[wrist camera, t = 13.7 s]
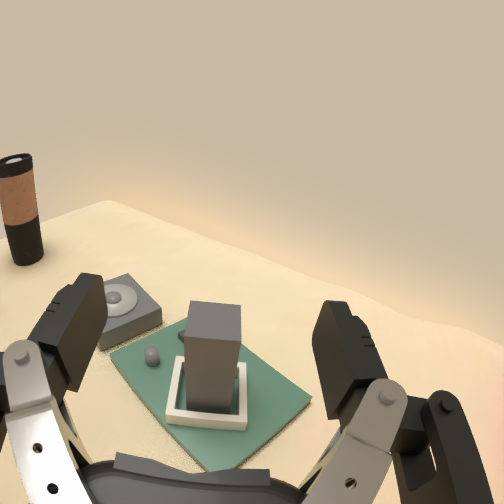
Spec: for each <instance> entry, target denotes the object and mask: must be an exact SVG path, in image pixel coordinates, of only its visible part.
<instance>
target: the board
mask: <svg viewBox="0 0 504 504" xmlns="http://www.w3.org/2000/svg"><path fill="white" fill-rule="evenodd" d="M186 322H187V318H185V319H183V320H181V321H179V322H177V323H175V324H173V325H170V326H168V327H166V328H164V329H162V330H160V331H158V332H156V333H154V334H151V335H149V336H147V337H145V338H143V339H141V340H139V341H136V342H134V343H132V344H130V345H128V346H126V347H124V348H121V349H119V350H117V351H115V352H113V353H110V358H111V361H112V362H113V363H114V365H115V366H116V368H117V369H118V370H119V372H120V373H121V375H122V376H123V377H124V379H125V380H126V381H127V383H128V384H129V385H130V387H131V388H132V389H133V391H134V392H135V393H136V394H137V396H138V397H139V398H140V399H141V401H142V402H143V403H144V404H145V406H146V407H147V408H148V409H149V411H150V412H151V413H152V414H153V415H154V417H155V418H156V419H157V420H158V421H159V422H160V424H161V425H162V426H163V427H164V428H165V429H166V430H167V432H168V433H169V434H170V435H171V436H172V437H173V438H174V439H175V440H176V441H177V443H178V444H179V445H180V446H181V447H182V448H183V449H184V450H185V451H186V452H187V453H188V454H189V455H190V456H191V457H192V458H193V459H194V460H195V461H196V462H197V463H198V464H199V465H200V466H201V467H202V468H203V469H204V470H205V471H206V472H211V471H218V470H225V469H231V468H234V469H235V468H236V467H237V466H239V465H240V464H241V463H242V462H244V461H245V460H246V459H247V458H249V457H250V456H251V455H252V454H253V453H255V452H256V451H257V450H258V449H259V448H261V447H262V446H263V445H264V444H265V443H266V442H268V441H269V440H270V439H271V438H272V437H273V436H274V435H275V434H277V433H278V432H279V431H280V430H281V429H282V428H283V427H284V426H285V425H286V424H288V423H289V422H290V421H291V420H292V419H293V418H294V417H295V416H296V415H297V414H298V413H299V412H300V411H301V410H302V409H303V408H304V407H305V406H306V405H307V404H308V403H309V402H310V401H311V399H312V396H310V395H309V394H308V393H306V392H305V391H303V390H302V389H301V388H299V387H298V386H296V385H295V384H294V383H292V382H291V381H290V380H288V379H287V378H286V377H284V376H283V375H282V374H280V373H279V372H278V371H276V370H275V369H274V368H272V367H271V366H270V365H268V364H267V363H266V362H264V361H263V360H262V359H260V358H259V357H258V356H257V355H255V354H254V353H253V352H251V351H250V350H249V349H248V348H246V347H245V346H244V345H242V344H241V347H240V353H239V358H238V364H237V370H236V376H235V382H234V388H233V394H232V400H231V406H230V411H229V415H227V414H214V413H204V412H195V411H186V392H185V362H184V333H185V328H186Z"/></svg>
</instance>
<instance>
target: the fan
mask: <svg viewBox="0 0 504 504" xmlns="http://www.w3.org/2000/svg"><path fill="white" fill-rule="evenodd" d="M103 283H104V289H105V295H106V301H107V306H108V318H107V322H106V325H105V327H104V330H103V332H102V334H101V336H100V339H99V341H98V343H97V346H98V347H99V349H100V351H101V352H102V351H104V350H106V349H108V348H110V347H113V346H115V345H117V344H119V343H122V342H124V341H126V340H128V339H130V338H133V337H135V336H137V335H139V334H141V333H143V332H146V331H148V330H150V329H152V328H154V327H156V326H159V325H161V324H162V309H161V307H160V306H159V305H158V304H157V303H156V302H155V301H154V300H153V299H152V298H151V297H150V296H149V295H148V294H147V293H146V292H145V291H144V290H143V288H142V287H141V286H140V285H139V284H138V283H137V282H136V281H135V280H134V279H133V278H132V277H131V276H130V275H129V274H128V273H127V274H124V275H122V276H119V277H116V278H113V279H110V280H108V281H105V282H103Z"/></svg>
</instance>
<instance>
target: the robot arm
mask: <svg viewBox="0 0 504 504" xmlns="http://www.w3.org/2000/svg"><path fill="white" fill-rule="evenodd" d="M107 318H108V306H107V301H106V295H105V289H104V283H103V278H102V276H101V275H95V274H88V273H81V274H80V275H79V276H78V278H77V279H76V281H75V282H74V283H73V285H70V284H68V285H67V286H65V287H64V288H62V289H61V290H60V291H58V292H57V294H56V295H55V297H54V298H53V300H52V301H51V303H50V304H49V305H48V307H47V308H46V311H44V313H43V315H42V316H41V318H40V319H39V321H38V322H37V324H36V325H35V327H34V329H33V330H32V332H31V333H30V335H29V337H28V338H27V340H19V341H16V342H14V343H12V344H11V345H10V346H9V347H8V348H7V349H6V350H5V352H0V452H1V449H2V445H3V442H4V439H5V436H6V433H7V431H8V435H9V439H10V443H11V447H12V451H13V454H14V458H15V461H16V464H17V468H18V471H19V474H20V477H21V480H22V483H23V486H24V489H25V491H26V494H27V497H28V499H29V502H30V503H29V504H372V503H373V501H374V499H375V497H376V495H377V493H378V491H379V489H380V486H381V484H382V482H383V480H384V478H385V476H386V474H387V471H388V469H389V467H390V464H391V462H392V459H393V464H394V469H395V474H396V479H397V484H398V489H399V494H400V500H401V504H494V502H493V498H492V494H491V491H490V487H489V483H488V480H487V477H486V473H485V470H484V467H483V464H482V461H481V458H480V455H479V452H478V449H477V446H476V443H475V440H474V437H473V435H472V432H471V429H470V427H469V424H468V421H467V419H466V416H465V414H464V411H463V409H462V406H461V404H460V402H459V400H458V399H457V398H456V397H455V396H454V395H453V394H451V393H450V392H448V391H444V390H439V391H436V392H434V393H433V394H432V395H431V396H430V397H429V398H428V399H424V398H418V397H413V396H409V395H407V394H406V392H405V390H404V389H403V387H402V386H401V385H399V384H398V383H397V382H395V381H393V380H390V379H388V376H387V374H386V371H385V369H384V366H383V364H382V361H381V359H380V356H379V354H378V351H377V349H376V347H375V344H374V342H373V339H371V335H370V332H369V330H368V328H367V325H366V324H365V323H364V322H363V321H362V320H361V319H360V318H359V317H358V316H352V314H351V311H350V309H349V306H348V304H347V303H346V302H344V301H329V300H326V301H325V302H324V303H323V306H322V308H321V311H320V314H319V317H318V320H317V322H316V325H315V328H314V331H313V335H312V347H313V352H314V356H315V361H316V365H317V370H318V374H319V379H320V384H321V388H322V393H323V398H324V402H325V407H326V412H327V417H328V420H334V419H339V421H340V425H341V426H340V427H339V428H338V430H337V432H336V433H335V435H334V437H333V438H332V440H331V441H330V443H329V445H328V446H327V448H326V449H325V451H324V452H323V454H322V455H321V457H320V459H319V460H318V462H317V463H316V465H315V466H314V467H313V469H312V470H311V471H310V473H309V474H308V475H307V476H306V478H305V479H304V480H303V481H302V483H301V484H300V485H299V487H298V488H296V487H295V486H293V485H291V484H289V483H286V482H284V481H281V480H278V479H275V478H271V477H270V472H269V469H234V468H231V469H225V470H218V471H211V472H204V473H196V474H191V473H186V472H183V471H181V470H178V469H175V468H173V467H170V466H167V465H165V464H162V463H160V462H157V461H155V460H152V459H147V458H142V457H137V456H132V455H127V454H123V453H118V452H116V456H115V460H108V461H101V462H96V463H93V462H92V460H91V458H90V456H89V455H88V453H87V451H86V449H85V448H84V446H83V444H82V442H81V440H80V437H79V435H78V433H77V430H76V428H75V425H74V423H73V420H72V417H71V415H70V412H69V409H68V407H67V404H66V401H65V399H64V395H65V392H66V390H70V391H74V392H78V389H79V387H80V384H81V382H82V379H83V377H84V374H85V372H86V369H87V367H88V364H89V362H90V360H91V357H92V355H93V352H94V350H95V348H96V345H97V343H98V341H99V339H100V336H101V334H102V332H103V330H104V327H105V325H106V322H107ZM430 446H431V449H432V452H433V456H434V460H435V463H436V470H435V466H434V462H433V459H432V455H431V452H430V448H429V447H430ZM389 452H391V454H389Z"/></svg>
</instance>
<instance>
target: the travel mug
mask: <svg viewBox="0 0 504 504" xmlns="http://www.w3.org/2000/svg"><path fill="white" fill-rule="evenodd" d="M0 204H1V210H2V215H3V222H4V226H5V230H6V234H7V239H8V242H9V246H10V250H11V253H12V257H13V260H14V262H15V263H16V264H17V265H20V266H26V265H30V264H33V263H35V262H37V261H39V260H40V259H41V258H42V257H43V254H44V251H43V244H42V238H41V231H40V224H39V215H38V209H37V201H36V193H35V184H34V175H33V163H32V156H31V155H30V154H28V153H24V154H17V155H12V156H8V157H5V158H3V159H0Z"/></svg>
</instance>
